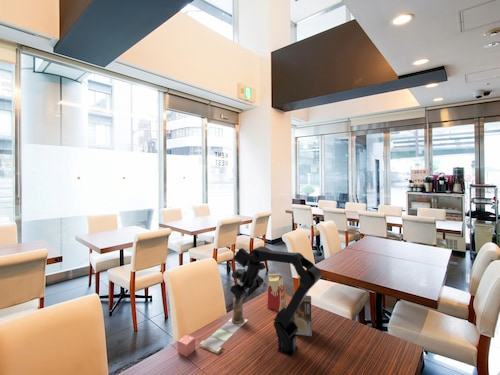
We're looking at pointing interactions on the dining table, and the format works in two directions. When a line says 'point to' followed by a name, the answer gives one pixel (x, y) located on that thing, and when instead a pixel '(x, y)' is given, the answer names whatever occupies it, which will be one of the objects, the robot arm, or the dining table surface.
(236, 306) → the pawn
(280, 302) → the milk carton
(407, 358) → the dining table surface
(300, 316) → the coffee box
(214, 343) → the board
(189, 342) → the die
